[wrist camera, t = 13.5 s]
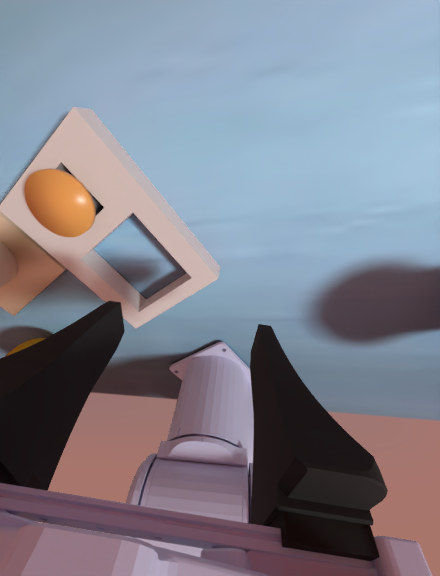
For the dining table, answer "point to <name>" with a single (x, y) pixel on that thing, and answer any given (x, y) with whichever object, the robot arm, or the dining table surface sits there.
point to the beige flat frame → (111, 217)
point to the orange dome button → (61, 202)
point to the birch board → (25, 267)
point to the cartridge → (7, 265)
